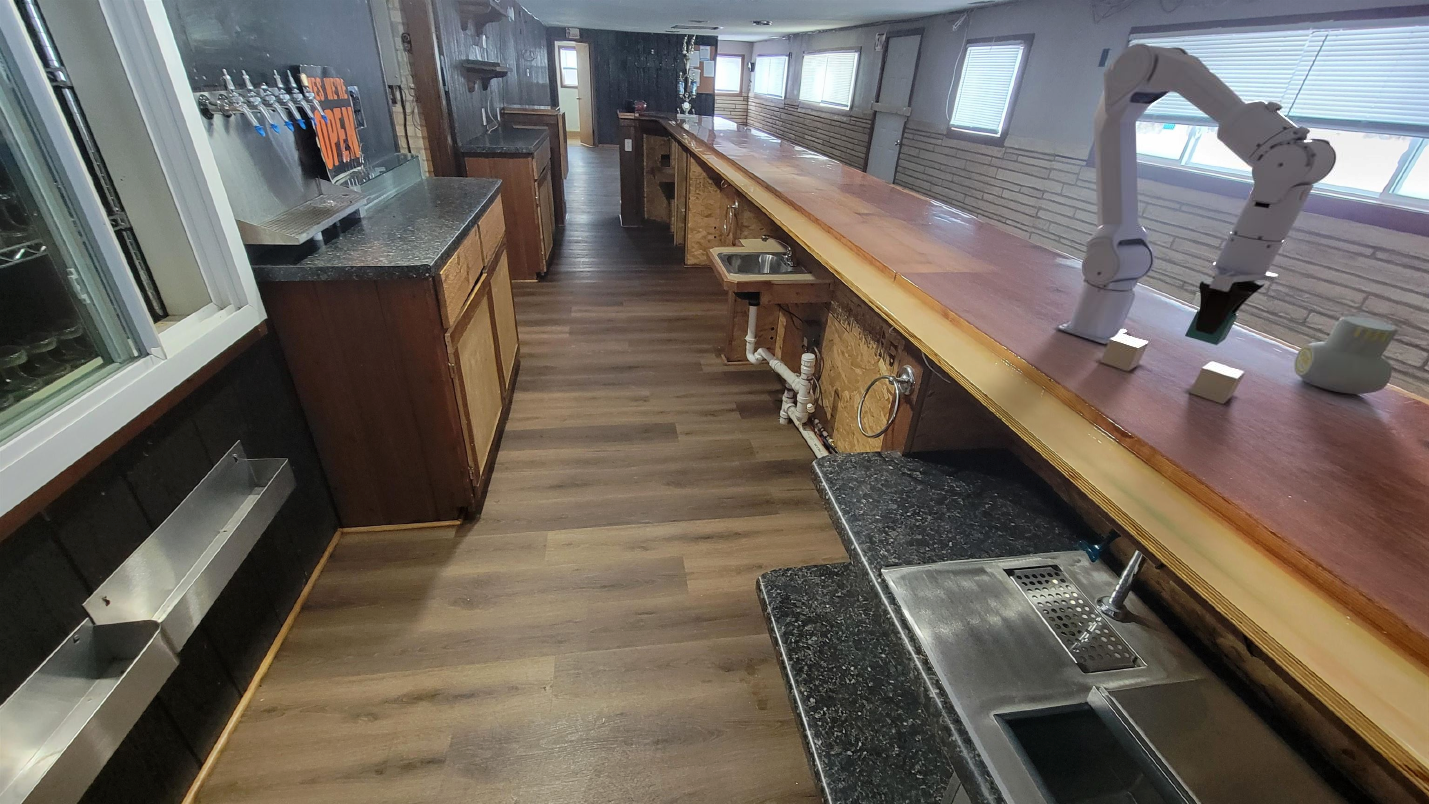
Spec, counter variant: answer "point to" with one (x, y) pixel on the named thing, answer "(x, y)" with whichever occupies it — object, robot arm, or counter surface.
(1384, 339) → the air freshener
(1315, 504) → the counter surface
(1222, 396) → the line block
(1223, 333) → the teal block
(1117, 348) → the line block
